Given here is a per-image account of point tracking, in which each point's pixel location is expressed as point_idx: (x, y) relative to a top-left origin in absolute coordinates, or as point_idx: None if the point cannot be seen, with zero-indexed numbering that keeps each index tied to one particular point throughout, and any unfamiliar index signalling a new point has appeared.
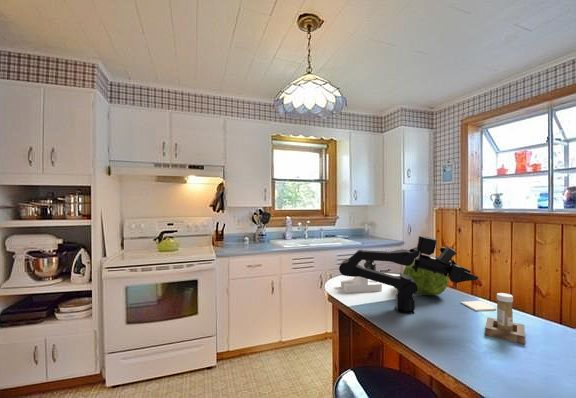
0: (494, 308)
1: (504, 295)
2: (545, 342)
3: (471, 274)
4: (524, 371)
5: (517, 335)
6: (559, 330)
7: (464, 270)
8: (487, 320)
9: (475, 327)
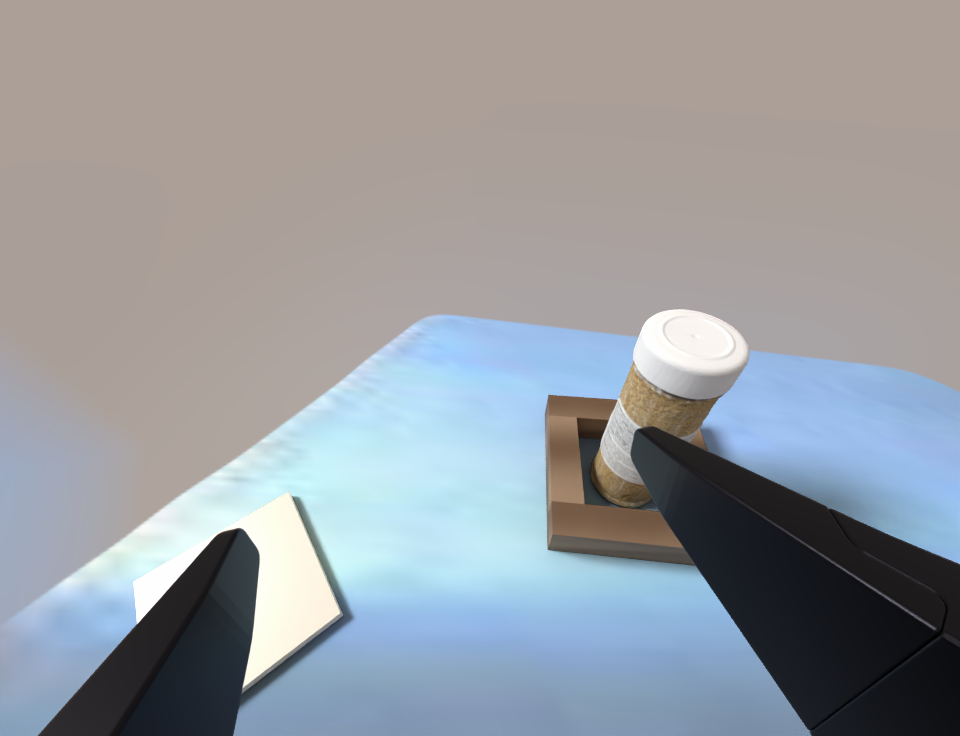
0: (288, 499)
1: (718, 337)
2: (599, 373)
3: (779, 485)
4: (933, 448)
5: None
6: (457, 333)
7: (204, 663)
8: (611, 536)
9: (656, 622)
